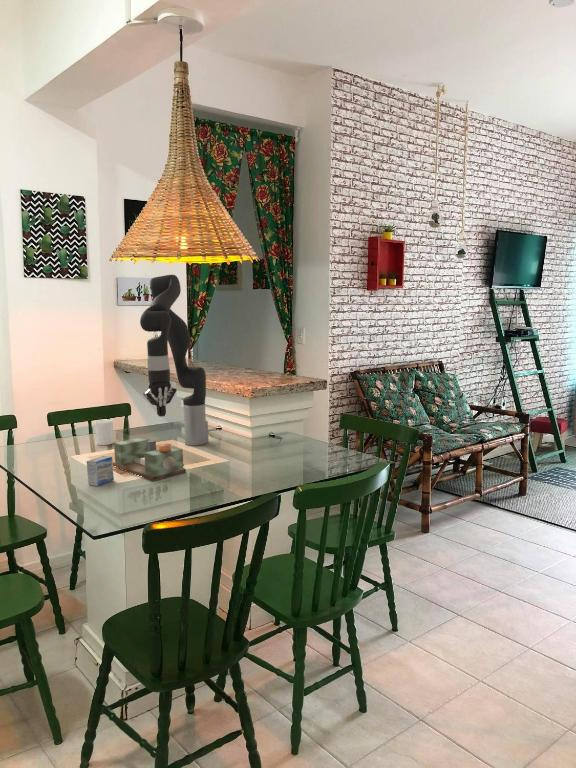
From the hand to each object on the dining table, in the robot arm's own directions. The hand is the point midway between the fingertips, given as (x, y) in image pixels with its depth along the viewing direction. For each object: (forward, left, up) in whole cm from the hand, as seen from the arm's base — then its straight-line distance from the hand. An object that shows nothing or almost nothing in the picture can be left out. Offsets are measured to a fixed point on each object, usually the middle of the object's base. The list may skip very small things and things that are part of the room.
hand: (161, 416), depth 227 cm
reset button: (+1, +4, -12) cm, 12 cm away
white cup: (-8, -59, -21) cm, 64 cm away
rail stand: (+1, -8, -21) cm, 23 cm away
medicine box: (+21, -6, -21) cm, 31 cm away
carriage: (+1, -4, -19) cm, 20 cm away
